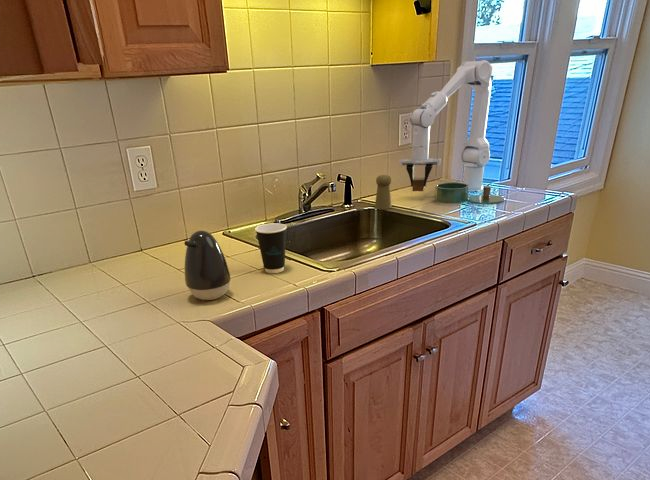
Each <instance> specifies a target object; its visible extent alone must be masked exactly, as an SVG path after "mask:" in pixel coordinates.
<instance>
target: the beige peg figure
mask: <svg viewBox="0 0 650 480" xmlns="http://www.w3.org/2000/svg"><path fill="white" fill-rule="evenodd" d="M375 182H376V184H377V187H376V193H375V194H376V195H375V202H374V209H377V210H389V209H391V208H392V207H393V205H392V197H391V196H392V195H391V187H390V185H391V183H392V177H391V176H390V175H389V174H381V175H377V177H376V179H375Z"/></svg>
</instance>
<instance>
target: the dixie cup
mask: <svg viewBox="0 0 650 480" xmlns="http://www.w3.org/2000/svg"><path fill="white" fill-rule="evenodd" d="M287 228H288V227H287V225H286V224H285V223H277V222H271V223H263V224H260V225H257V226H255V228H254V232H255V233H256V237H257V242H258V246H259V251H260V256H261V260H262V264H263V268H264V269H265V272H266V273H268V274H278V273H281V272H284V270H285V266H286V238H287V236H286V235H287V233H286V232H287Z"/></svg>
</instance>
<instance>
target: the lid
mask: <svg viewBox="0 0 650 480" xmlns="http://www.w3.org/2000/svg"><path fill="white" fill-rule="evenodd" d="M491 191H492V186H489V185H485V186H483V190H482V194H475V195H470V196H468V198H467V201H468V202H469V203H473V204H479V205H494V204H500V203H503V202H505V197H504V196H501V195H496V194H491Z"/></svg>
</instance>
